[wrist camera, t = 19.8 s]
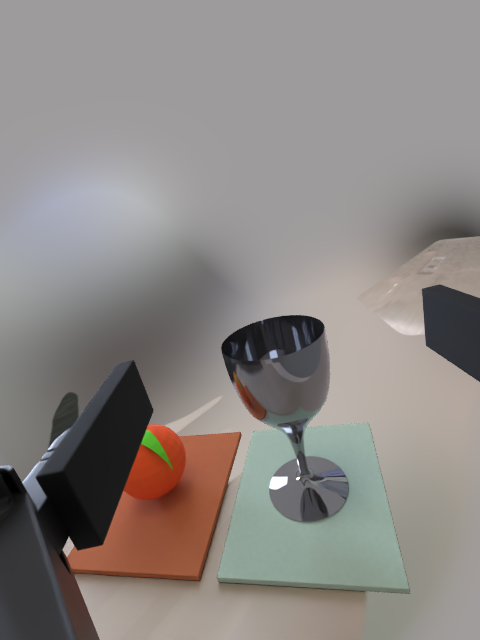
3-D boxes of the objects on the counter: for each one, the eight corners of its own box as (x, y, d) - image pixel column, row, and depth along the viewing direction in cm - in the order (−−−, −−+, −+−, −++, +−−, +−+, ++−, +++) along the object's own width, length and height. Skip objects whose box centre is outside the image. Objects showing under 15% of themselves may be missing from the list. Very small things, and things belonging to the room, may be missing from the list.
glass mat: (218, 582, 24) (216, 577, 24) (253, 434, 39) (252, 431, 38) (410, 594, 20) (409, 588, 20) (369, 426, 35) (368, 422, 35)
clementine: (214, 479, 33) (193, 421, 31) (158, 536, 28) (129, 473, 26) (169, 453, 38) (149, 403, 36) (117, 497, 34) (90, 442, 32)
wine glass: (249, 511, 28) (200, 359, 24) (283, 447, 35) (250, 317, 30) (342, 540, 24) (304, 362, 19) (362, 461, 30) (336, 312, 26)
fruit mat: (61, 572, 28) (59, 568, 28) (147, 441, 43) (146, 438, 42) (199, 580, 24) (197, 576, 24) (241, 435, 39) (240, 431, 39)
